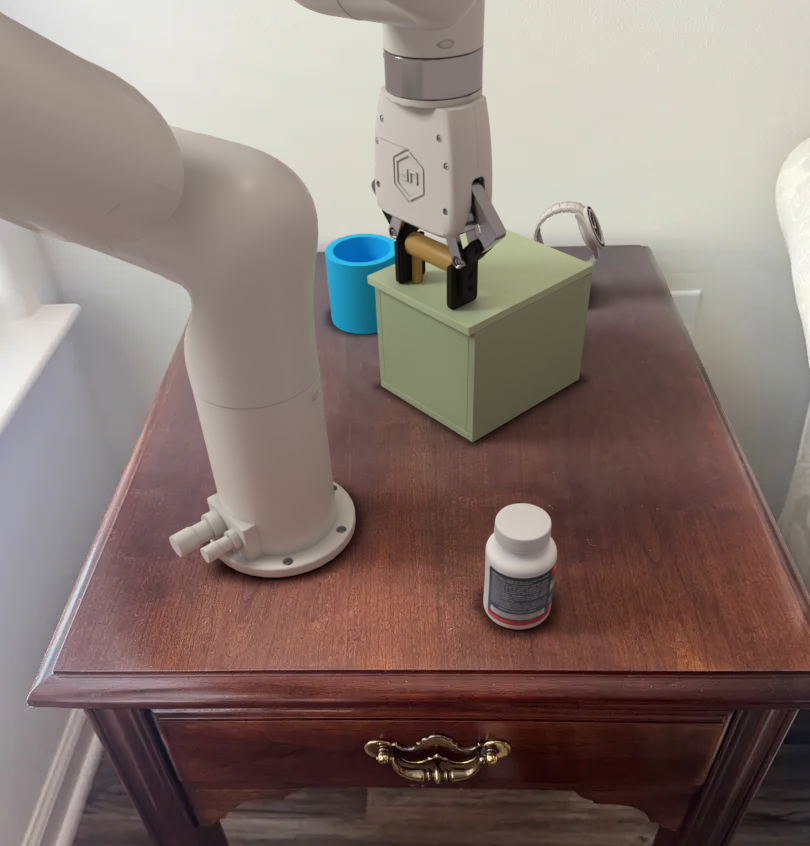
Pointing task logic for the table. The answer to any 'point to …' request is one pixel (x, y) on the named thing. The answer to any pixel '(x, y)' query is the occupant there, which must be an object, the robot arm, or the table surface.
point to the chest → (482, 359)
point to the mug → (356, 279)
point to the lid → (482, 279)
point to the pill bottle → (519, 567)
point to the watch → (585, 223)
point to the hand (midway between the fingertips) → (435, 289)
